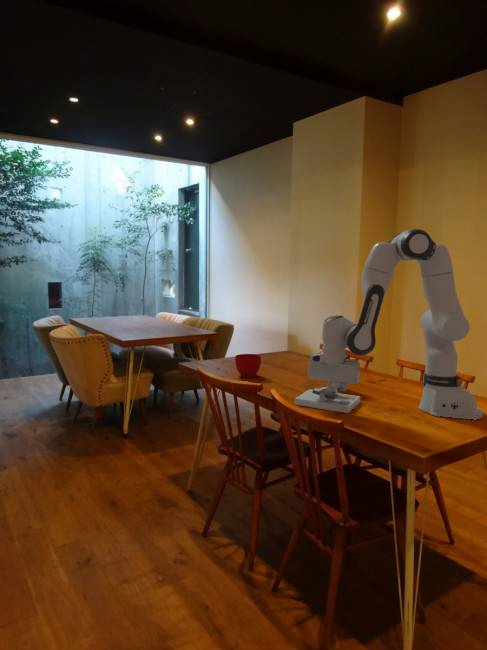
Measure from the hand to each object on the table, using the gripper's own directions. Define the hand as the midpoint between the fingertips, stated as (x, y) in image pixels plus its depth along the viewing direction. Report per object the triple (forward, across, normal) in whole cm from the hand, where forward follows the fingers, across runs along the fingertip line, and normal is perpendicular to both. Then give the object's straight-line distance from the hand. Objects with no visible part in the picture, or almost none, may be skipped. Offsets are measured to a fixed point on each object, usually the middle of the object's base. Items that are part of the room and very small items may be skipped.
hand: (333, 391), depth 180 cm
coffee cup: (+6, +6, -27) cm, 28 cm away
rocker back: (+1, +3, -8) cm, 9 cm away
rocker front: (+1, +3, 0) cm, 3 cm away
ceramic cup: (+6, +54, -30) cm, 62 cm away
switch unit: (+6, +3, -4) cm, 8 cm away
